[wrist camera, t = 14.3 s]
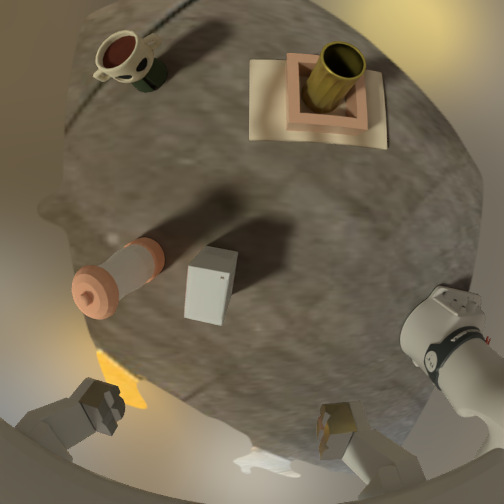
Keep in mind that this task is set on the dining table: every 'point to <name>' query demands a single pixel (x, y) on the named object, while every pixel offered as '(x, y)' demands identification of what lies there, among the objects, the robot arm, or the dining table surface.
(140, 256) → the pepper shaker
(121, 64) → the character mug
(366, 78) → the board
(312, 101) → the vase
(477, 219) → the dining table surface
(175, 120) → the dining table surface
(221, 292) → the small box
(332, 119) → the pink open box
